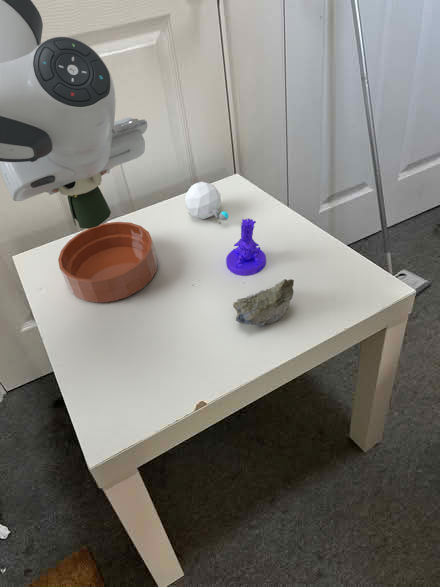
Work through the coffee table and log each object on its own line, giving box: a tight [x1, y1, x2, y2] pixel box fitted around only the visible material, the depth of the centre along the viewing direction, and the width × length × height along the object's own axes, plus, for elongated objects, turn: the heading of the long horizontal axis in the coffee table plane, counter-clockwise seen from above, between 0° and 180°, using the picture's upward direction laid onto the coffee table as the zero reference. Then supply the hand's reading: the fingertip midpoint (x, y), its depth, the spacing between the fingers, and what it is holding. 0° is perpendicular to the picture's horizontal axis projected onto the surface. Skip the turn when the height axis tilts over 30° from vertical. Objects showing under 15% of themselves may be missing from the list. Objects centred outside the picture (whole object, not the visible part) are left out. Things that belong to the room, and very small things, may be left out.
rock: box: [232, 278, 295, 328], centre depth 78 cm, size 11×6×10 cm
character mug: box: [58, 172, 112, 230], centre depth 72 cm, size 11×7×13 cm, turn 52°
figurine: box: [225, 217, 267, 277], centre depth 88 cm, size 8×8×10 cm
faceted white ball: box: [184, 181, 229, 221], centre depth 101 cm, size 8×8×12 cm
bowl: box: [57, 221, 158, 303], centre depth 91 cm, size 18×18×6 cm
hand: (77, 179), depth 72 cm, fingers closed on character mug, 7 cm apart
